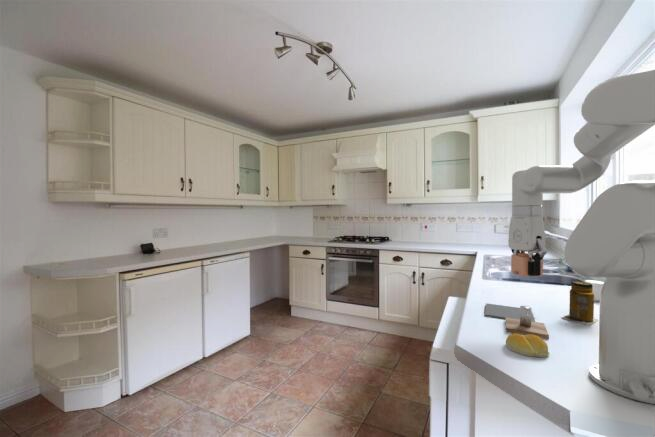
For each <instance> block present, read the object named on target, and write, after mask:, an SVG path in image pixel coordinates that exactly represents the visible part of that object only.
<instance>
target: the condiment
mask: <svg viewBox="0 0 655 437" xmlns="http://www.w3.org/2000/svg"><path fill="white" fill-rule="evenodd" d="M592 287H593V286H592V284H590V283H587V282H585V281H577V280H576V281H575V280H574V281H571V288H570V289H569V313H568V314H567V315H563V316H561V319H564V320H568V321H570V322H574V323H576V324H583V325H587V326H591V325H592V324H595V323H596V322H598V321H599V318H594V313H595V312H594V311H595V300H594V293H593V292H592V291H593V288H592Z"/></svg>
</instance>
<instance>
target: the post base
mask: <svg viewBox="0 0 655 437" xmlns="http://www.w3.org/2000/svg"><path fill="white" fill-rule="evenodd" d="M505 329H506V333H509V334H514V333H517V334H521V335H523V336H524V335H527V334H533V335H536V336H538V337H540V338H542V339H543V340H549V338H550V335H549V332H548V330H547V327H546V325H545V323H544V322H539V321H538V322H537V321H535V322H532V321H531V327H523V326H521V325H520V320H519V319H512V318H506V319H505Z"/></svg>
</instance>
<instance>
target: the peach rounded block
mask: <svg viewBox="0 0 655 437" xmlns="http://www.w3.org/2000/svg"><path fill="white" fill-rule="evenodd" d="M535 254H536V253H533V256H534V255H535ZM510 259H511V260H510V264H511V265H510V268H511V269H510V273H512V275H517V276H520V277H530V278H531V277H535V278H536V277H537V278H538V277H539V278H540V277H543V276H544V271H543V270H544V257H543V258H542V262H541V268H540V276H529V275H528V261H530V259H529V255H528V252H525V253H521V252H520V253H518V255H513V254H511V258H510Z"/></svg>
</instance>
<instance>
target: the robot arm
mask: <svg viewBox="0 0 655 437" xmlns="http://www.w3.org/2000/svg"><path fill="white" fill-rule="evenodd" d="M580 108H581V109H580V111H581V116H582V117H583V119H584V120H585V121H586V123H585V124H584V125H583V126H582V127H581V128H580V129H578V130H577V131H576V132H575V134H574V135H573V144H574V146H575V148H576V149H577V150H578V152H579V153H580V154H581V155H582V156H581V157H580V158H579V159H578V160H576V161H575V162H573V163H572V164H570V165H564V164H562V165H556V164H555V165H552V164H551V165H545V164H544V165H541V164H539V165H535V166H531V167H529V168H528V169H522V170H518V171H515V172H514V173H513V174H512V177H511V178H512V179H511V218H510V222H509V228H508V248H509V249H510V250H511V252H512V255H518V253H528V255H529V259H530V261H528V275H529V276H540V268H541V262H542V258H543V259H544V258H545V256H546V255H547V254H548V252H549V250H548V249H547V247H546V232H545V222H544V219H543V218H544V217H543V216H544V215H543V213H544V212H543V211H544V210H543V206H544V204H543V202H544V201H543V199H544V198H543V194H572V193H577V192H579V191H581V190H583V189H585V188H586V187H587V186H589V185H591V184H593V183H595V181H597V180H599V179H600V178H601V177H602V176H603V175H604V174H605V172H606V171H607V169H608V167H609V166H610V165H609V164H610V163H611V156H613V154H616V152H618V151H620V150H621V149H622V148H623V147H625V146H627V145H628V144H629V143H631V142H632V141H633V140H635V139H637V138H638V137H639V136H640V135H641V136H642V134H644V133H645V132H646V131H648V130H650V129H651V128H652V127H654V126H655V69H653V70H652V69H651V70H646V71H641V72H637V73H631V74H625V75H620V76H616V77H612V78H608V79H606V80H604V81H602V82H601V83H599V84H597V85H596V86H595V87H593V88H592V89H591V90H590V91H589V92H588V93H587V95H586V96H585V98H584V100H583V101H582V105H581V107H580ZM533 254H535V255H534V256H533ZM564 258H565V259H564V260H565V262H566V263H567V265H568V267H569V268H570V269H571V270H572V271H573V272H575V273H577V274H579V275H582V276H585V277H588V278H606V279H605V280H604V281H603V282H604V284H603V286H602V289H601V293H600V301H599V318H598V321H599V322H598V323H599V324H598V326H599V328H598V329H599V330H598V331H599V332H598V333H599V334H598V364H595V365H592V366H590V367H589V368H588V376H589V378H591V380H592V381H594V383H596V385H597V384H598V386H600V387H602V388H604V389H606V390H607V391H610V392H612V393H614V394H616V395H619V396H622V397H624V398H627V399H631V400H635V401H636V402H637V401H638V402H641V403H644V404H645V403H646V404H650V405H651V404H652V405H655V179H652V180H632V181H625V182H621V183H617V184H614V185H613V186H610V187H609V188H607V189H605V190H604V191H603V192H602V193H600V194H599V195H598V196H597V197H596V198H595V199H594V201H593V203H592V204H590V207H589V208H588V209H587V211H586V212H585V214H584V215H583V217H581V220H579V222H578V224H577V225H576V226H575V228H574V230H573V231H572V232H571V234H570V235H569V237H568V239H567V241H566V244H565V246H564Z"/></svg>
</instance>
